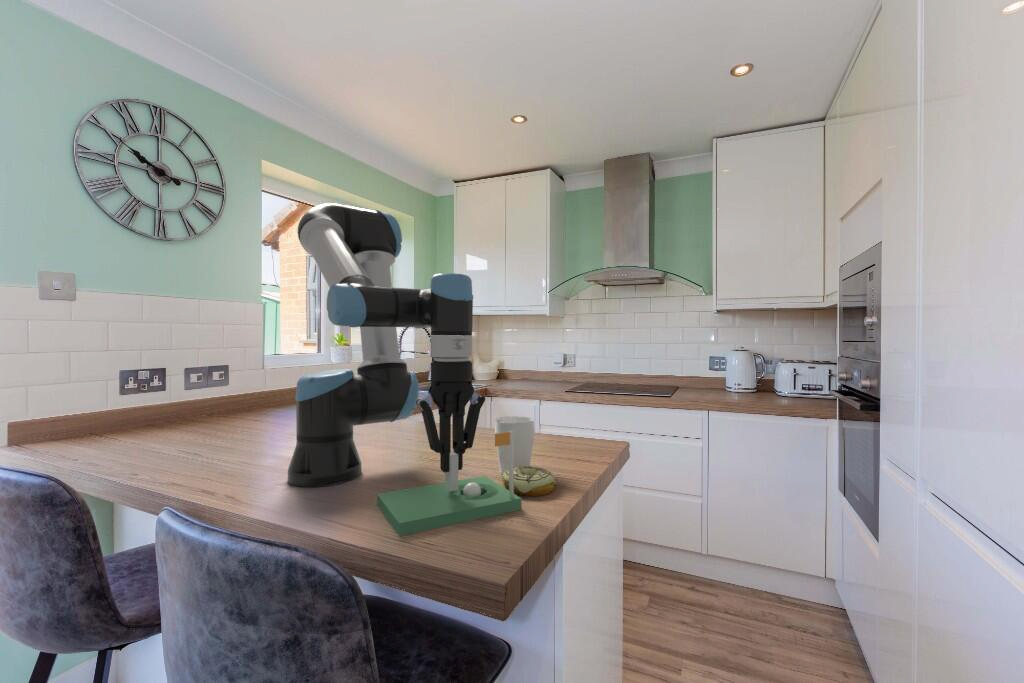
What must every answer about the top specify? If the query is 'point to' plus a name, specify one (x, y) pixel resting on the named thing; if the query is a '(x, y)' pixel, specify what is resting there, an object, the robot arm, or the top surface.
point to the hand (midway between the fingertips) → (451, 488)
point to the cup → (515, 441)
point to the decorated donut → (530, 481)
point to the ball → (472, 489)
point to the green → (450, 500)
